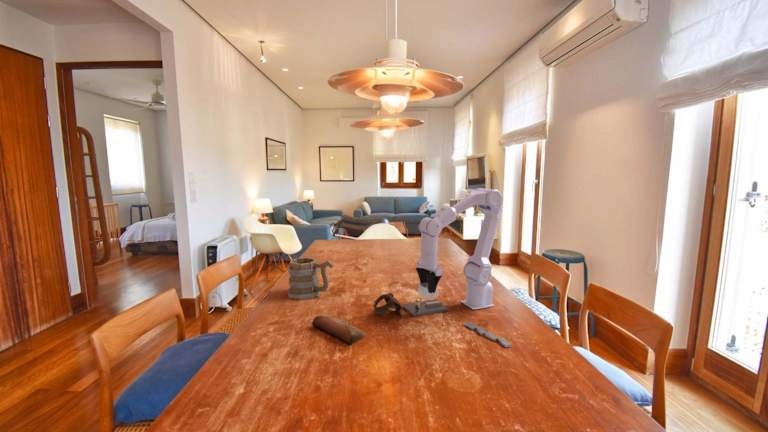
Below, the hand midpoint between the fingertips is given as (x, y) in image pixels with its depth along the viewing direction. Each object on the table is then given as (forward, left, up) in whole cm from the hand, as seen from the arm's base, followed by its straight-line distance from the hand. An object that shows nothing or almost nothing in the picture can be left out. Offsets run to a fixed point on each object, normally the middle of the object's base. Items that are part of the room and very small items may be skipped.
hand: (428, 289), depth 116 cm
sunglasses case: (+32, +3, -9) cm, 34 cm away
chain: (-9, +21, -9) cm, 24 cm away
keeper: (-1, -3, -9) cm, 9 cm away
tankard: (+36, -31, -9) cm, 49 cm away
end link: (0, 0, -2) cm, 2 cm away
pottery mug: (+13, -4, -9) cm, 16 cm away
